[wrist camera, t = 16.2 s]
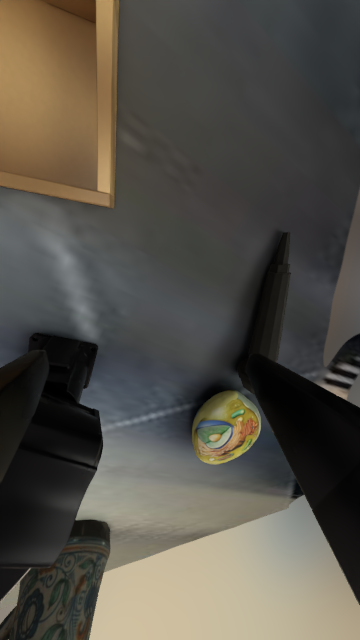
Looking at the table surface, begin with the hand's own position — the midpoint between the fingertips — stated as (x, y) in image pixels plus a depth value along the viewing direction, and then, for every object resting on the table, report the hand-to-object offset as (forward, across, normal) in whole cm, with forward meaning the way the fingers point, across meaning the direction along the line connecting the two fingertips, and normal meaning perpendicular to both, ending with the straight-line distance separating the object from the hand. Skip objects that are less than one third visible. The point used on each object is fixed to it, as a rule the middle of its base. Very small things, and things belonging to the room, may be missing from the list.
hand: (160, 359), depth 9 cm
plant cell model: (+10, -14, +22) cm, 28 cm away
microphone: (+13, -16, +4) cm, 21 cm away
